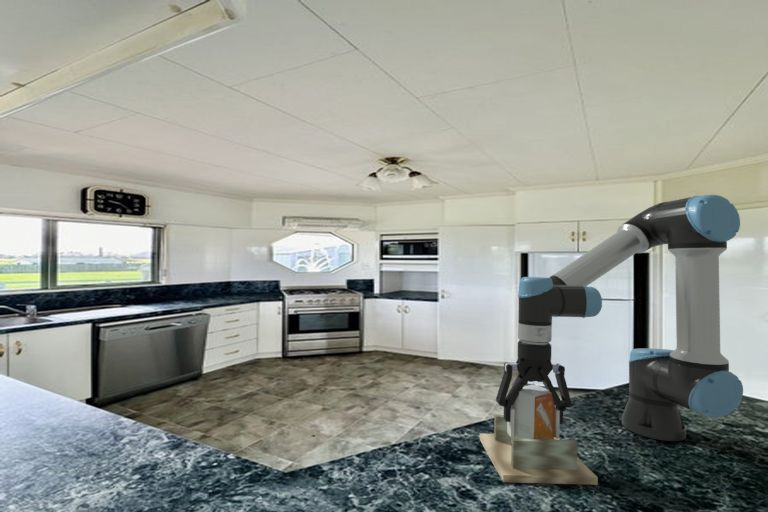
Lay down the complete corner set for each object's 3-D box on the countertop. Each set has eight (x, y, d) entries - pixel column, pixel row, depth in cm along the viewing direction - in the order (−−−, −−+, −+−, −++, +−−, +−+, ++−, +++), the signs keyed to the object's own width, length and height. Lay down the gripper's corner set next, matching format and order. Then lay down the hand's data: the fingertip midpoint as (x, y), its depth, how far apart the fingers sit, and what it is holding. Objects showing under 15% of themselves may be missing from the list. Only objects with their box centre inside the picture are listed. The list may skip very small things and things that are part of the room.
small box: (533, 454, 86) (534, 396, 87) (510, 443, 92) (511, 388, 92) (555, 446, 91) (555, 390, 91) (531, 435, 96) (532, 383, 97)
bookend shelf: (555, 441, 101) (555, 412, 101) (597, 484, 81) (598, 448, 81) (479, 439, 101) (480, 410, 101) (503, 482, 81) (503, 446, 81)
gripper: (491, 343, 88) (489, 441, 88) (589, 346, 88) (588, 444, 88) (483, 337, 96) (481, 427, 95) (573, 339, 96) (572, 429, 95)
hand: (532, 435), depth 91 cm, fingers closed on small box, 10 cm apart
